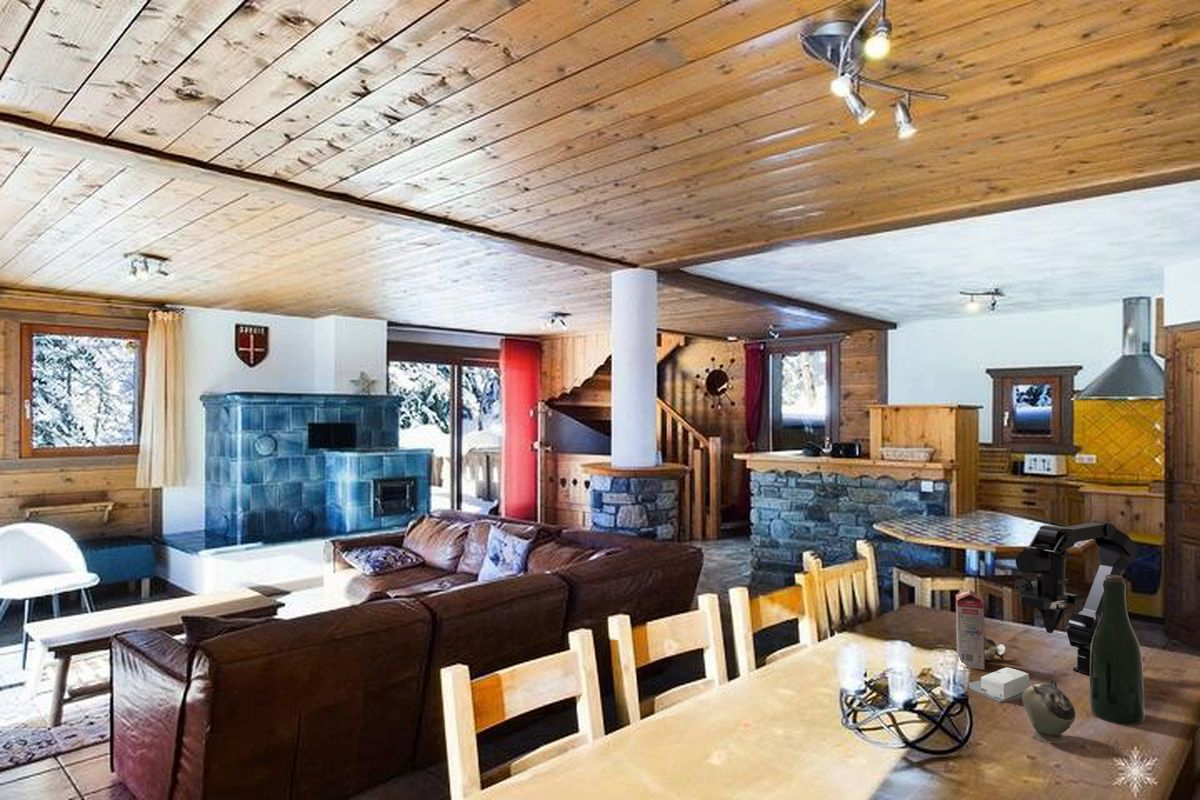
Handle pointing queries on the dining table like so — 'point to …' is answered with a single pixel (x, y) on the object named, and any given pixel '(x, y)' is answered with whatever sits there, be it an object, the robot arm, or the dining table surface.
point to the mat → (976, 687)
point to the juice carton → (970, 629)
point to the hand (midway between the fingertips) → (1049, 632)
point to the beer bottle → (1116, 661)
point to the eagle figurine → (993, 649)
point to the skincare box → (1004, 683)
